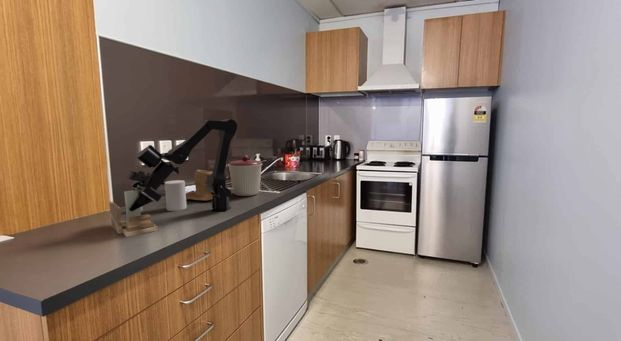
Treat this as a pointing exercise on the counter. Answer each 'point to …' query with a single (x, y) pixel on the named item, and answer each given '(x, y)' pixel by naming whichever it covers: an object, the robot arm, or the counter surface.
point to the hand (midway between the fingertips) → (128, 209)
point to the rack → (124, 222)
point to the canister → (245, 176)
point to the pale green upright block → (129, 200)
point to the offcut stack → (139, 223)
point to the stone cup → (200, 187)
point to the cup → (175, 195)
